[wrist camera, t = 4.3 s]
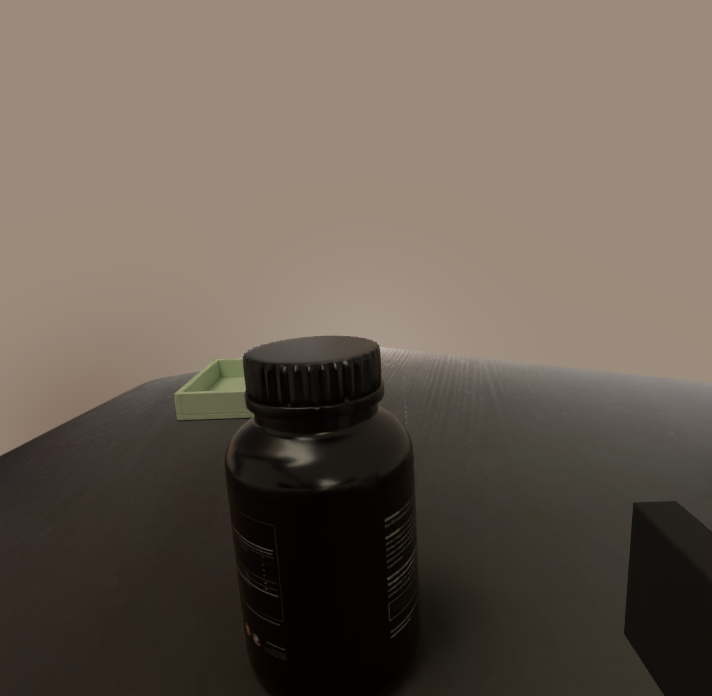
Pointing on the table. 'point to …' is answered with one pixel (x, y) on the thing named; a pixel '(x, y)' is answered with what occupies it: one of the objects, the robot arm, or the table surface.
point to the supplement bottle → (323, 520)
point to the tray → (214, 393)
